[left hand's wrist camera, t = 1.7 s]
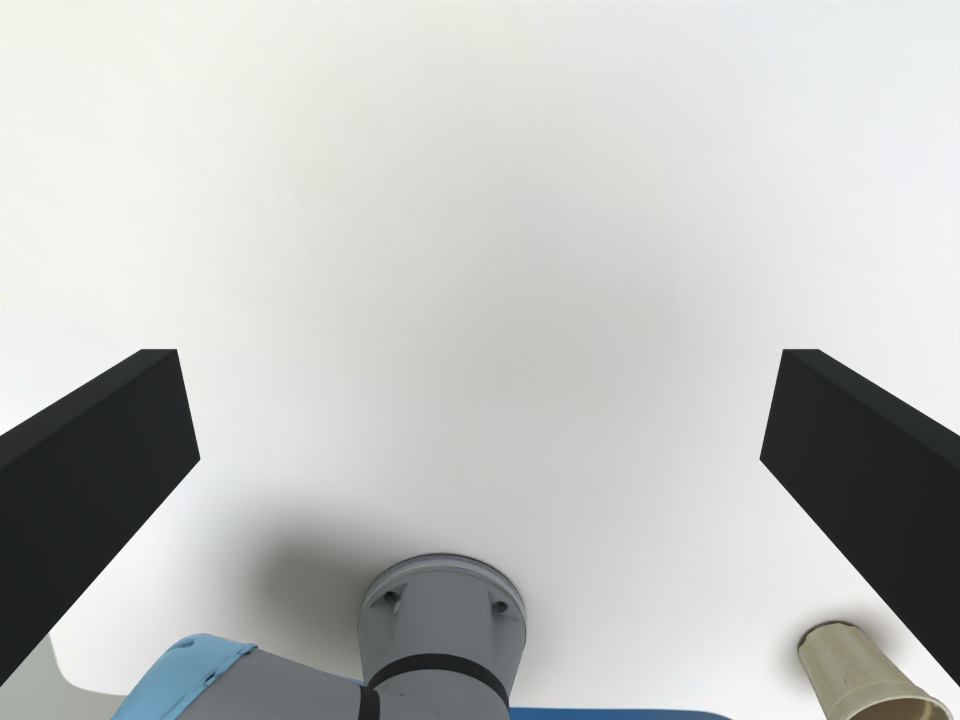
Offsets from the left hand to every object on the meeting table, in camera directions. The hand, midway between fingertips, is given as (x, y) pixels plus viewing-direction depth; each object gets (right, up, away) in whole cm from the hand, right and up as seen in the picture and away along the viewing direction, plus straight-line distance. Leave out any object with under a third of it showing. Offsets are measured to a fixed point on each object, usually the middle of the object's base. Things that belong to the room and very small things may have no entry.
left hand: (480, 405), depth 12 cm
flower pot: (+34, -26, +41) cm, 59 cm away
